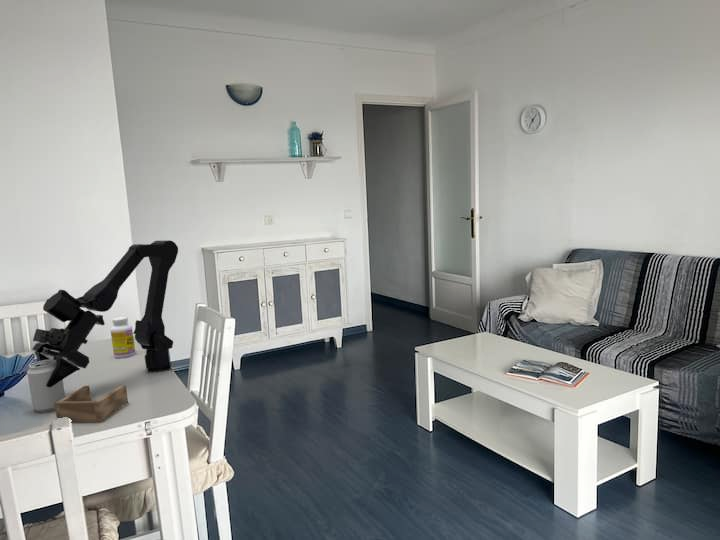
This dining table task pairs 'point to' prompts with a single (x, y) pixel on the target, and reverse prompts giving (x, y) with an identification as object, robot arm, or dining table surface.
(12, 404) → the dining table surface
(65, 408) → the u rest
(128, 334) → the supplement bottle
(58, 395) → the can
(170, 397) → the dining table surface
